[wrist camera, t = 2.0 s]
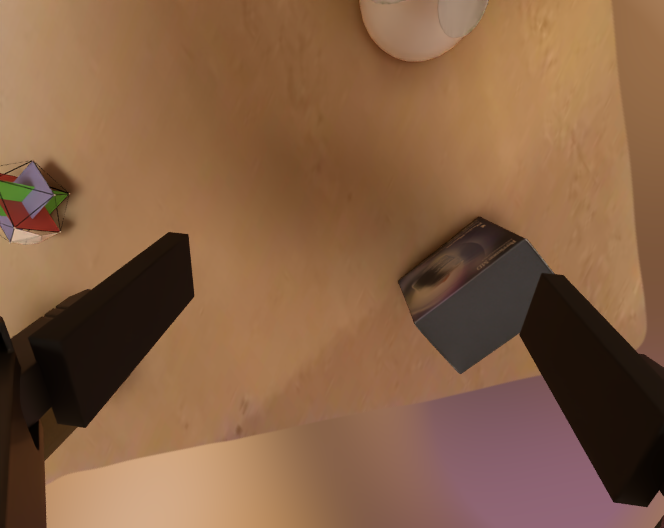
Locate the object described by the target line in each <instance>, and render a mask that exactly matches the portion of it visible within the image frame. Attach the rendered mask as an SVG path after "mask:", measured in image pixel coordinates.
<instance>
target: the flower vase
mask: <svg viewBox="0 0 664 528" xmlns="http://www.w3.org/2000/svg"><path fill="white" fill-rule="evenodd" d="M488 1H489V0H360V1H359V5H360V10H361V14H362V19H363V23H364V25H365V27H366V29H367V31H368V33H369V35H370V37H371V38H372V39H373V41H374V42H375V43H376V44H377V45H378V46H379V47H380V49H382V50H383V51H385V52H386V53H388V54H389V55H391V56H392V57H394V58H397V59H401V60H404V61H408V62H423V61H427V60H430V59H433V58H437V57H439V56H441V55H442V54H444V53H445V52H447V51H449V50H450V49H452V48H453V47H454V46H455V45H456V44H457V43H458V42H459V41H460V40H461V39H462V38H463V37H464V36H465V35H467V34H468V33H470V32H471V31H472V30H473V29H474V28H475V27H476V26H477V24H478V23H479V21H480V20H481V18H482V16H483V14H484V12H485V10H486V7H487V5H488Z"/></svg>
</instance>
